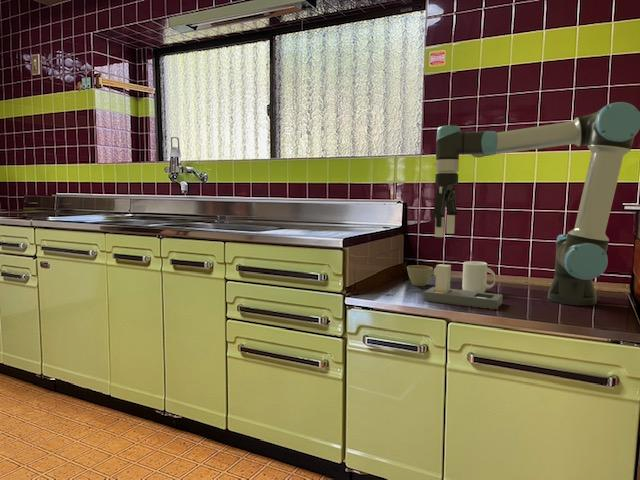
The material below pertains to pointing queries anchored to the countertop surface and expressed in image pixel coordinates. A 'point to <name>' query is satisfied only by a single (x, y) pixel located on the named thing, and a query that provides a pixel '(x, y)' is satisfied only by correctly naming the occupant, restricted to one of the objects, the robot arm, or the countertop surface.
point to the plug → (442, 278)
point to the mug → (476, 276)
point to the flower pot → (419, 274)
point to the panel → (465, 298)
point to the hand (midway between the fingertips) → (444, 235)
